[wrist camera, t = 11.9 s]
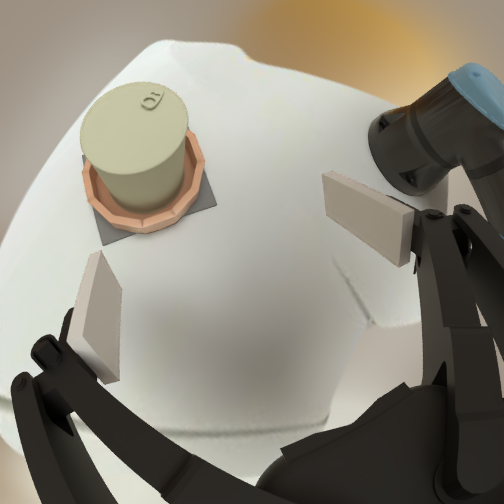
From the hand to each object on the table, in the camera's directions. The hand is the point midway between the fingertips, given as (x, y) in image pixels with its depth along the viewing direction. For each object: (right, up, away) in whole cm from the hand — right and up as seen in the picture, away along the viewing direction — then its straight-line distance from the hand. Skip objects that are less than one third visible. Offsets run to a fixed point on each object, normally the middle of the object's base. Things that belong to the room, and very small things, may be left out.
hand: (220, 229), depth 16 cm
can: (-11, +7, +15) cm, 20 cm away
